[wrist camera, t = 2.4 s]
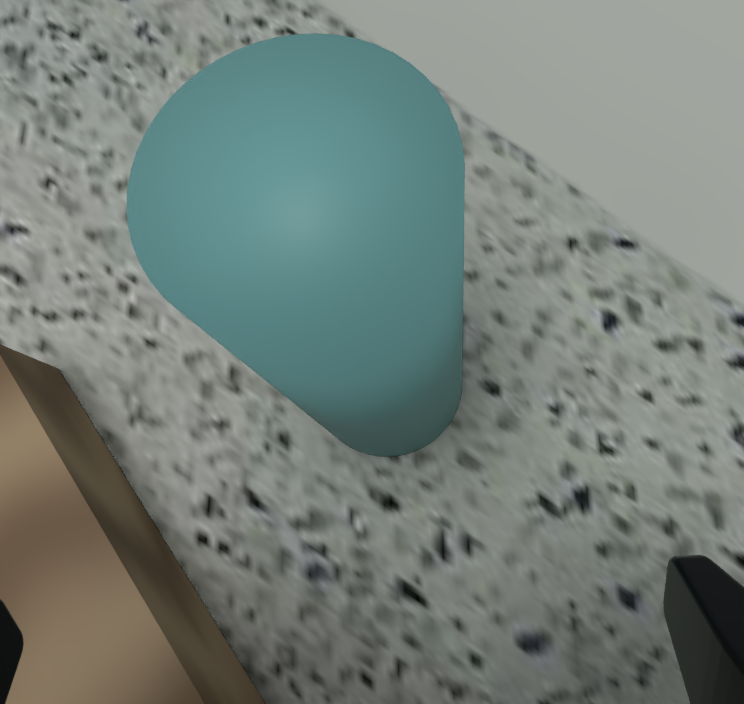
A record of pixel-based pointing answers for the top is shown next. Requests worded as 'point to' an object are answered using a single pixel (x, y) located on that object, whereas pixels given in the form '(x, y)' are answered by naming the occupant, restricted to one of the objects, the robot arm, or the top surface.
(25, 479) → the walnut plinth
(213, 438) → the top surface
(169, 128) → the teal post
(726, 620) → the robot arm
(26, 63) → the top surface
